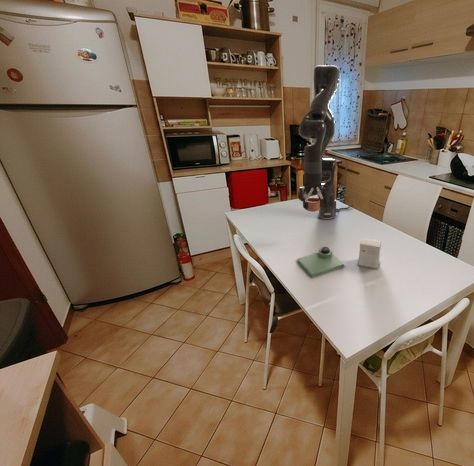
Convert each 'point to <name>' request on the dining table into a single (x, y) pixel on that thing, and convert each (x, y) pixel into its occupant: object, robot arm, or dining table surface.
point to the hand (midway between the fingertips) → (312, 207)
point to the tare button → (325, 250)
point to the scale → (320, 263)
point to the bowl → (313, 204)
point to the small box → (369, 253)
